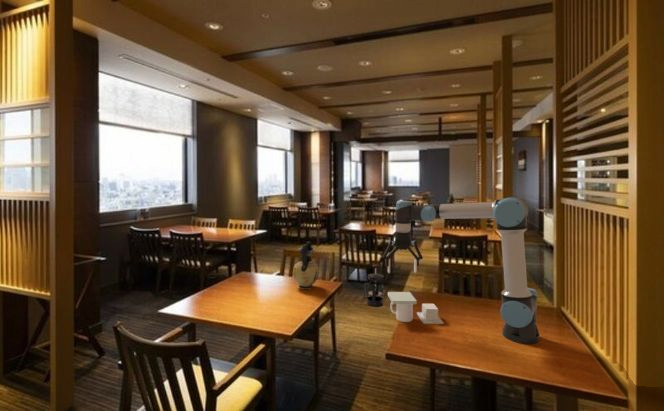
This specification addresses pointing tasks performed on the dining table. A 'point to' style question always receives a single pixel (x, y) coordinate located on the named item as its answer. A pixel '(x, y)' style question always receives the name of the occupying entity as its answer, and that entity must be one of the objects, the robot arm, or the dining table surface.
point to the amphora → (306, 268)
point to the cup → (403, 312)
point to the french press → (374, 290)
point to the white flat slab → (401, 298)
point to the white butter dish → (429, 314)
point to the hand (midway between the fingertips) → (402, 272)
